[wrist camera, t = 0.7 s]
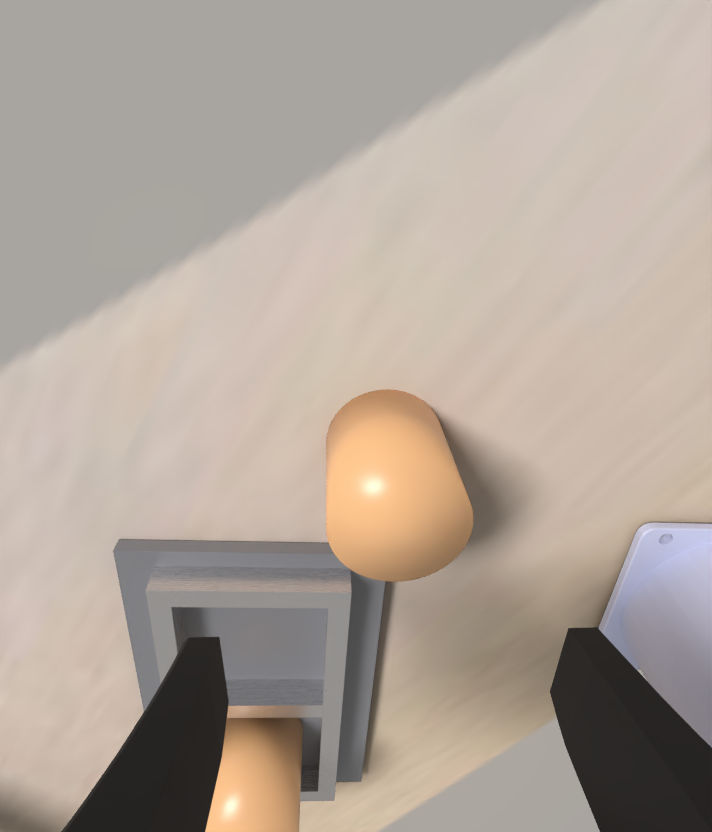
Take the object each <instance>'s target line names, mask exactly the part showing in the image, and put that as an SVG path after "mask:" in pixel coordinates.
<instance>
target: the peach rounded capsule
mask: <svg viewBox="0 0 712 832" xmlns="http://www.w3.org/2000/svg"><path fill="white" fill-rule="evenodd" d="M473 522H474V519H473V510H472V505H471V503H470V500H469V498H468V495H467V492H466V490H465V487H464V485H463V482H462V479H461V477H460V474H459V472H458V469H457V466H456V464H455V461H454V459H453V456H452V453H451V451H450V448H449V446H448V443H447V440H446V438H445V435H444V433H443V430H442V427H441V425H440V422H439V420H438V418H437V416H436V414H435V412H434V411H433V410H432V409H431V407H430V406H429V405H427V404H426V403H425V402H424V401H423V400H421V399H420V398H418V397H416V396H414V395H412V394H409V393H406V392H402V391H398V390H378V391H372V392H368V393H365V394H363V395H360V396H358V397H356V398H354V399H352V400H351V401H350V402H348V403H347V404H345V405H344V406H343V407H342V408H341V409H340V410H339V411H338V413H337V414H336V415H335V417H334V418H333V420H332V422H331V424H330V426H329V429H328V433H327V440H326V529H327V538H328V542H329V544H330V547H331V549H332V551H333V552H334V554H335V555H336V557H337V558H338V559H339V560H340V561H341V562H342V563H343V564H344V565H345V566H346V567H348V568H349V569H351V570H352V571H354V572H356V573H358V574H360V575H362V576H365V577H367V578H371V579H375V580H380V581H390V582H399V581H409V580H414V579H418V578H422V577H425V576H428V575H430V574H432V573H435V572H437V571H438V570H440V569H442V568H444V567H445V566H446V565H448V564H449V563H451V562H452V561H453V560H454V559H455V558H456V557H457V556H458V555H459V554H460V553H461V551H462V550H463V549H464V547H465V546H466V544H467V542H468V540H469V538H470V536H471V532H472V529H473Z"/></svg>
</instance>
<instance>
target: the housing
mask: <svg viewBox="0 0 712 832" xmlns="http://www.w3.org/2000/svg"><path fill="white" fill-rule="evenodd" d="M113 552H114V557H115V562H116V567H117V573H118V578H119V583H120V588H121V594H122V599H123V604H124V609H125V614H126V620H127V625H128V630H129V635H130V641H131V646H132V651H133V656H134V661H135V667H136V672H137V677H138V682H139V687H140V693H141V698H142V703H143V708H144V711H145V710H146V708H147V707H148V705H149V703H150V702H151V700H152V698H153V697H154V695H155V693H156V691H157V690H158V688H159V686H160V685H161V683H162V681H163V680H164V678H165V676H166V674H167V672H168V671H169V669H170V667H171V665H172V663H173V662H174V660H175V658H176V656H177V654H178V652H179V650H180V648H181V646H182V644H183V642H184V641H185V640H186V639H188V638H189V637H219V638H220V645H221V651H222V658H223V665H224V672H225V679H226V686H227V693H228V699H229V704H228V712H227V720H226V729H225V737H224V744H223V752H222V758H221V763H220V768H219V772H218V777H217V781H216V786H215V790H214V795H213V799H212V804H211V808H210V813H209V817H208V822H207V826H206V830H205V832H299V817H300V801H334V798H335V786H336V782H361V779H362V771H363V762H364V754H365V746H366V738H367V729H368V721H369V713H370V705H371V697H372V688H373V680H374V672H375V664H376V656H377V647H378V639H379V631H380V623H381V614H382V606H383V598H384V590H385V582H386V581H380V580H375V579H371V578H367V577H365V576H362V575H360V574H358V573H356V572H354V571H352V570H351V569H349V568H348V567H346V566H345V565H344V564H343V563H342V562H341V561H340V560H339V559H338V558H337V557H336V555H335V554H334V552H333V551H332V549H331V547H330V544H329V543H295V542H237V541H178V540H120V539H119V540H118V542H117V544H116V546H115V548H114V550H113Z"/></svg>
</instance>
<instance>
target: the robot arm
mask: <svg viewBox="0 0 712 832" xmlns="http://www.w3.org/2000/svg"><path fill="white" fill-rule="evenodd" d="M664 534H665V535H664ZM663 535H664V536H663ZM661 536H662V537H661ZM636 669H641V670H642V672H643V674H644V676H645V677H646V679H647V681H648V682H647V681H646V680H645V678H644V677H643V676H642V675H641V674H640V673H639V672H638V671H637V670H636ZM550 693H551V697H552V701H553V704H554V708H555V712H556V715H557V719H558V722H559V726H560V729H561V733H562V736H563V739H564V743H565V746H566V748H567V751H568V753H569V756H570V758H571V761H572V763H573V766H574V769H575V771H576V773H577V776H578V778H579V781H580V784H581V786H582V788H583V791H584V793H585V796H586V798H587V800H588V803H589V805H590V808H591V811H592V813H593V815H594V818H595V820H596V823H597V825H598V828H599V830H600V832H712V524H696V523H647V524H644V525H642V526H641V527H640V528H639V529H638V530H637V532H636V534H635V536H634V539H633V542H632V544H631V547H630V549H629V552H628V554H627V557H626V559H625V562H624V564H623V567H622V569H621V572H620V575H619V577H618V580H617V582H616V585H615V587H614V590H613V592H612V595H611V597H610V600H609V602H608V605H607V608H606V610H605V613H604V615H603V618H602V620H601V623H600V625H599V628H568V632H567V635H566V639H565V642H564V645H563V649H562V652H561V656H560V659H559V663H558V666H557V670H556V673H555V676H554V680H553V683H552V687H551V690H550ZM228 704H229V699H228V693H227V686H226V679H225V672H224V665H223V658H222V651H221V645H220V638H219V637H189V638H188V639H186V640H185V641H184V642H183V644H182V646H181V648H180V650H179V652H178V654H177V656H176V658H175V660H174V662H173V663H172V665H171V667H170V669H169V671H168V672H167V674H166V676H165V678H164V680H163V681H162V683H161V685H160V686H159V688H158V690H157V691H156V693H155V695H154V697H153V698H152V700H151V702H150V703H149V705H148V707H147V708H146V710H145V711H144V713H143V715H142V716H141V718H140V719H139V721H138V722H137V724H136V726H135V727H134V729H133V730H132V732H131V733H130V735H129V737H128V738H127V740H126V741H125V743H124V744H123V746H122V747H121V749H120V750H119V752H118V753H117V755H116V756H115V758H114V759H113V761H112V762H111V764H110V765H109V767H108V768H107V769H106V771H105V772H104V774H103V775H102V777H101V778H100V779H99V781H98V782H97V784H96V785H95V787H94V788H93V789H92V791H91V792H90V794H89V795H88V797H87V798H86V799H85V801H84V802H83V804H82V805H81V806H80V808H79V809H78V810H77V812H76V813H75V814H74V816H73V817H72V818H71V820H70V821H69V823H68V824H67V825H66V827H65V828H64V829H63V830H62V832H205V830H206V826H207V822H208V817H209V813H210V808H211V804H212V799H213V795H214V790H215V786H216V781H217V777H218V772H219V768H220V763H221V758H222V752H223V744H224V737H225V729H226V720H227V712H228Z"/></svg>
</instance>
